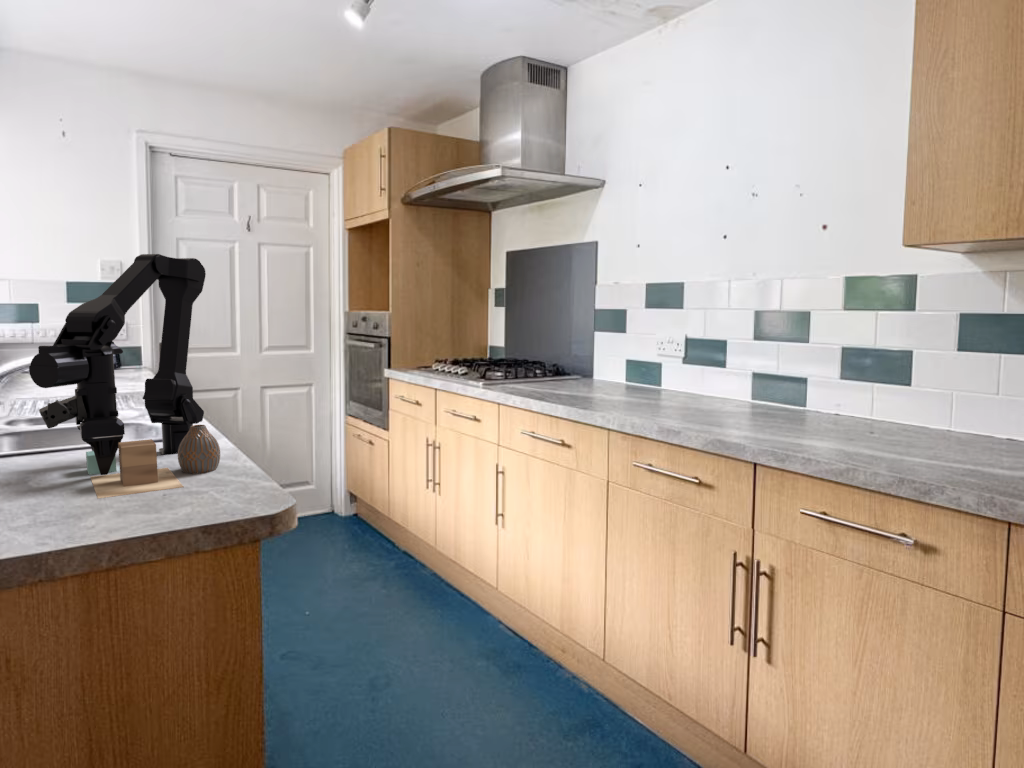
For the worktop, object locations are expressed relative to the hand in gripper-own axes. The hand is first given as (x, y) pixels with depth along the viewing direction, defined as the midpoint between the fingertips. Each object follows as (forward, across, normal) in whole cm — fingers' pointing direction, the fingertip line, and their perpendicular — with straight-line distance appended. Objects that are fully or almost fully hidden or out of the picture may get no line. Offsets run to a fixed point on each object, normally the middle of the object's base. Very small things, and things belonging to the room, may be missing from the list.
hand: (101, 469), depth 124 cm
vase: (+1, +9, +14) cm, 17 cm away
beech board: (+1, +12, +4) cm, 13 cm away
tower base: (0, +12, +4) cm, 13 cm away
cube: (+1, 0, 0) cm, 1 cm away
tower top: (-3, +12, +4) cm, 13 cm away
